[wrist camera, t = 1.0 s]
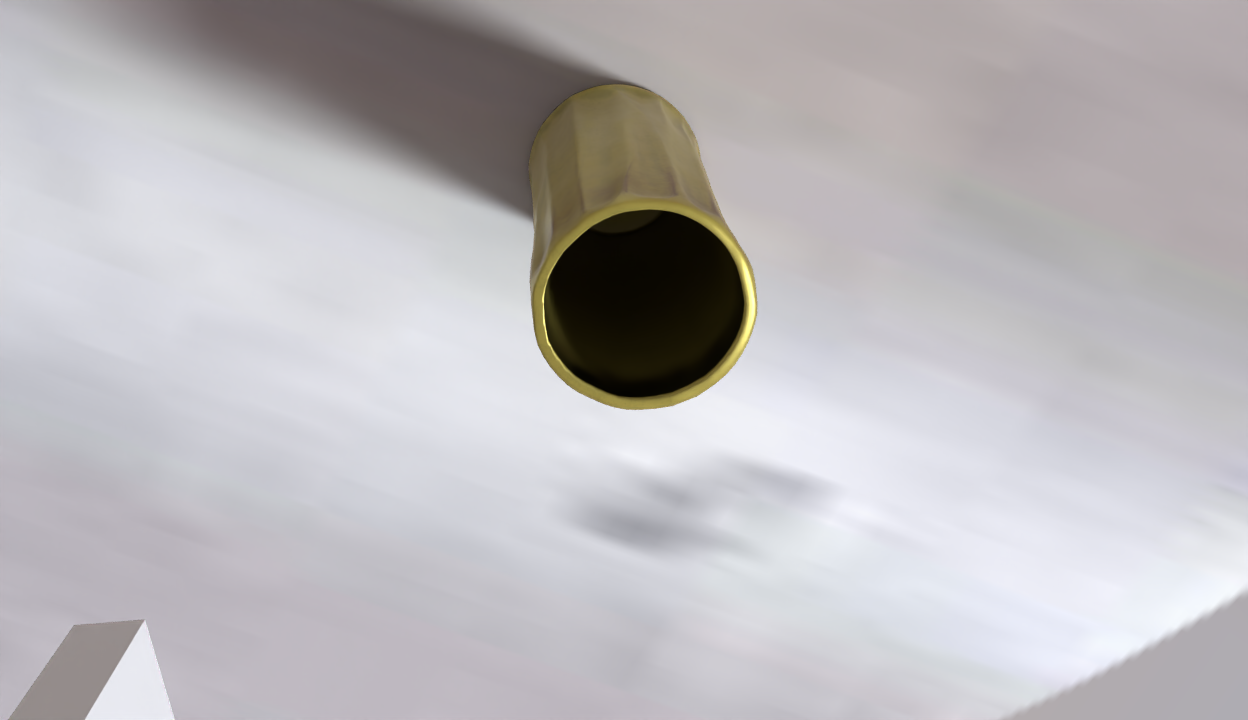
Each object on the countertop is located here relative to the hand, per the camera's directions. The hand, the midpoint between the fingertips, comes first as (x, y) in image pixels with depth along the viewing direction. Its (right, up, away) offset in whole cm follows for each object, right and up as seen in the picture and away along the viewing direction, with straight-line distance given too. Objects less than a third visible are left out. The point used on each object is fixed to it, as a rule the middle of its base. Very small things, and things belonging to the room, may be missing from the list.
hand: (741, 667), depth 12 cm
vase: (-2, +10, +25) cm, 27 cm away
